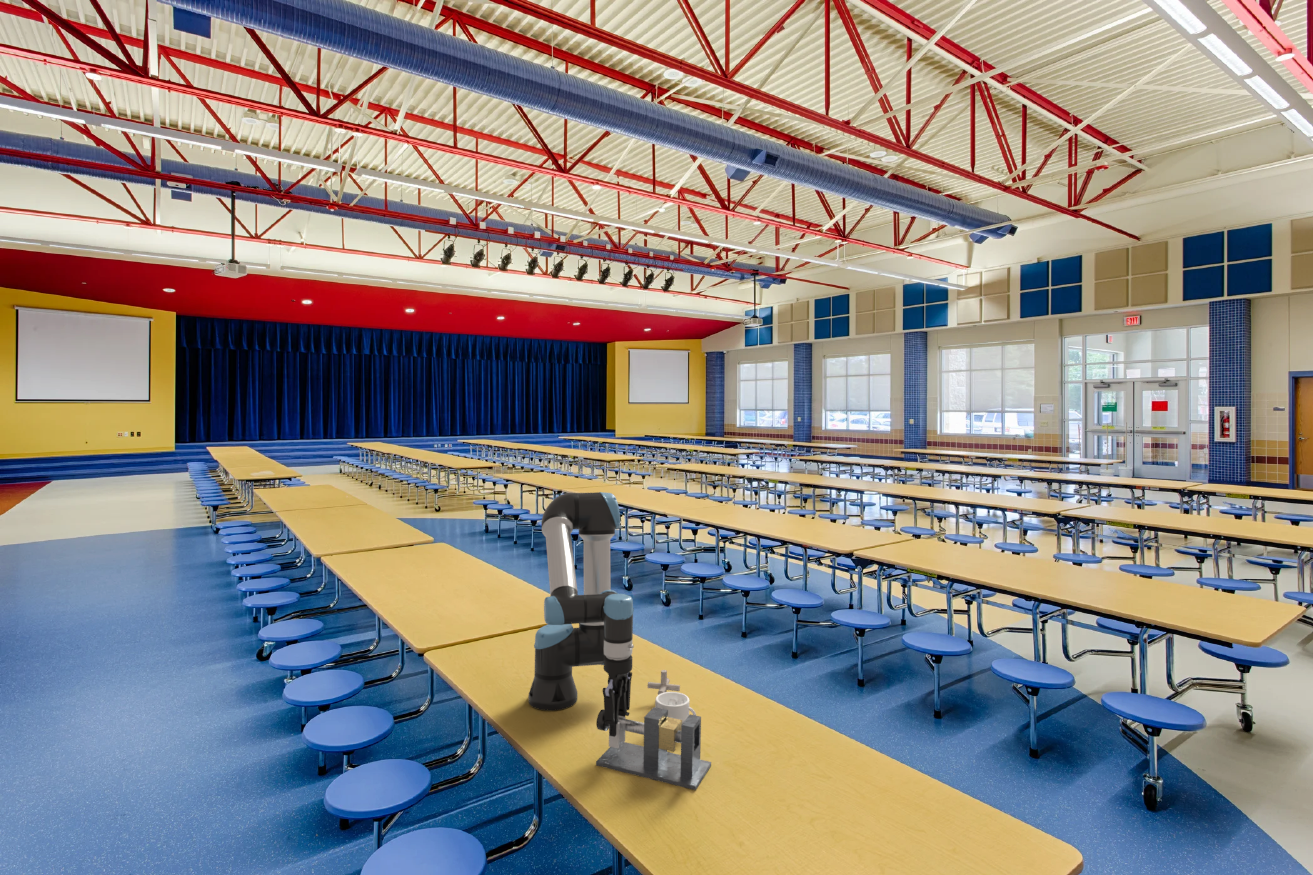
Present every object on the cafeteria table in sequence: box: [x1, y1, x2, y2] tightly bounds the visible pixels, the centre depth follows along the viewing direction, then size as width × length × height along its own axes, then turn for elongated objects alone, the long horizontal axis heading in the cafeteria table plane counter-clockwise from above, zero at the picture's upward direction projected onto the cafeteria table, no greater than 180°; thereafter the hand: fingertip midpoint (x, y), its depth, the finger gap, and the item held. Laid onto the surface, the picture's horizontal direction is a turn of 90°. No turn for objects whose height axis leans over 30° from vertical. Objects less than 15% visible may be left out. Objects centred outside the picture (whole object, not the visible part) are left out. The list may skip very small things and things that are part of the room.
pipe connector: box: [647, 669, 681, 696], centre depth 205 cm, size 10×10×10 cm
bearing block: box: [595, 707, 712, 791], centre depth 168 cm, size 27×12×14 cm, turn 67°
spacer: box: [659, 717, 682, 753], centre depth 166 cm, size 4×6×6 cm
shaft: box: [596, 708, 681, 744], centre depth 169 cm, size 23×5×5 cm, turn 67°
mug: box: [654, 691, 697, 724], centre depth 187 cm, size 12×10×9 cm
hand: (617, 743), depth 172 cm, fingers closed on shaft, 3 cm apart
